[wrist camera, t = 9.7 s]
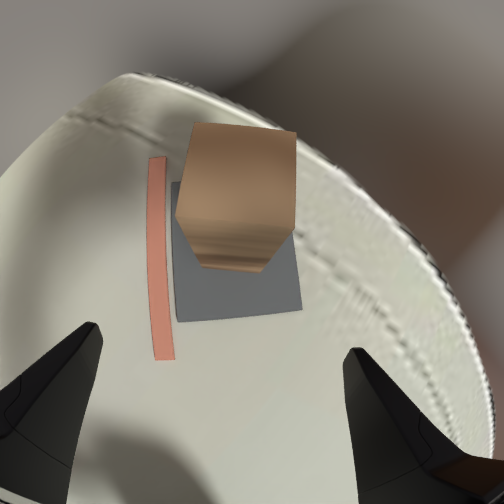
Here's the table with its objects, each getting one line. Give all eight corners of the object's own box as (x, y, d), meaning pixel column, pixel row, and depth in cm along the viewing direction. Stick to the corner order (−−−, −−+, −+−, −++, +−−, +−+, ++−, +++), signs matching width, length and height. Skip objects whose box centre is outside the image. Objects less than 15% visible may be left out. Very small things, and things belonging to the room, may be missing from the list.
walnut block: (259, 273, 22) (294, 227, 11) (202, 268, 22) (174, 216, 10) (263, 219, 23) (296, 132, 12) (208, 213, 23) (194, 122, 11)
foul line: (174, 359, 20) (174, 359, 20) (156, 359, 20) (155, 360, 20) (166, 157, 24) (165, 156, 24) (150, 160, 24) (149, 158, 24)
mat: (301, 310, 22) (302, 309, 22) (178, 322, 21) (177, 322, 21) (282, 176, 25) (282, 174, 24) (172, 184, 24) (171, 182, 23)
